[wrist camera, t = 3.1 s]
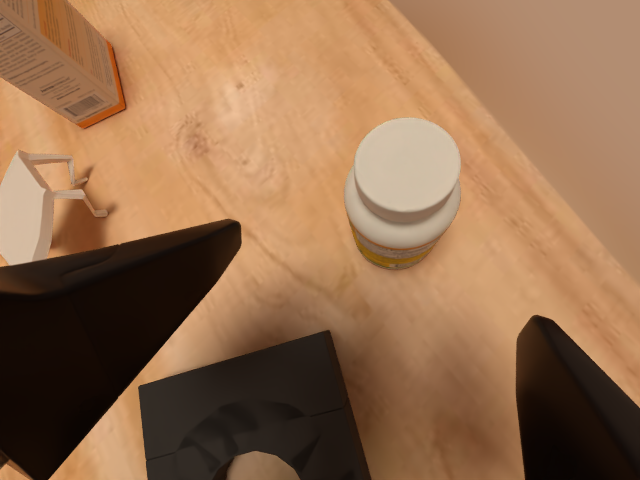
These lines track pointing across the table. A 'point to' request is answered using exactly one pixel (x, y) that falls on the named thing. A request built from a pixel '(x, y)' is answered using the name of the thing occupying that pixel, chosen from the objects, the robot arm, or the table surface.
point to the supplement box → (59, 59)
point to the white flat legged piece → (32, 207)
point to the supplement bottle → (402, 191)
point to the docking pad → (255, 415)
